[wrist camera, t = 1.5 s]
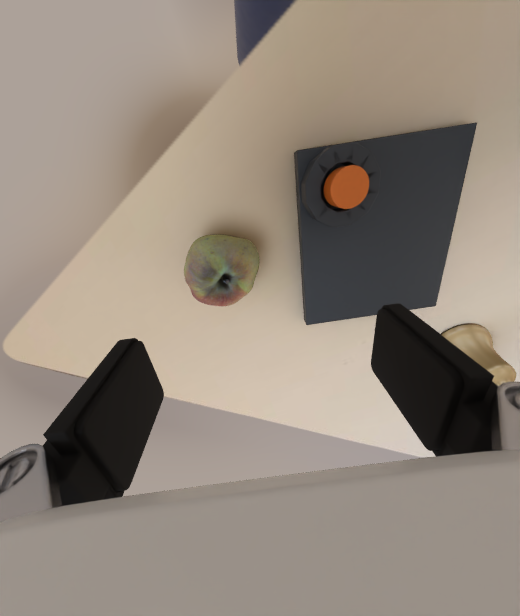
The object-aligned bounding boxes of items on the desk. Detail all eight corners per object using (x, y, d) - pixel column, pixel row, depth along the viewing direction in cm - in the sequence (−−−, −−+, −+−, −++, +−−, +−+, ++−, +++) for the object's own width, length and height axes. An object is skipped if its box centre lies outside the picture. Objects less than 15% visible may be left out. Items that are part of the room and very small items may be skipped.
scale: (294, 152, 20) (301, 147, 17) (464, 125, 19) (499, 116, 17) (304, 319, 27) (310, 334, 24) (428, 301, 27) (448, 314, 24)
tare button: (322, 169, 18) (330, 168, 16) (360, 164, 18) (371, 162, 16) (323, 209, 19) (330, 211, 18) (358, 204, 19) (368, 205, 18)
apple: (165, 247, 22) (141, 266, 17) (244, 215, 22) (245, 224, 16) (196, 301, 25) (183, 331, 20) (267, 274, 24) (273, 298, 19)
